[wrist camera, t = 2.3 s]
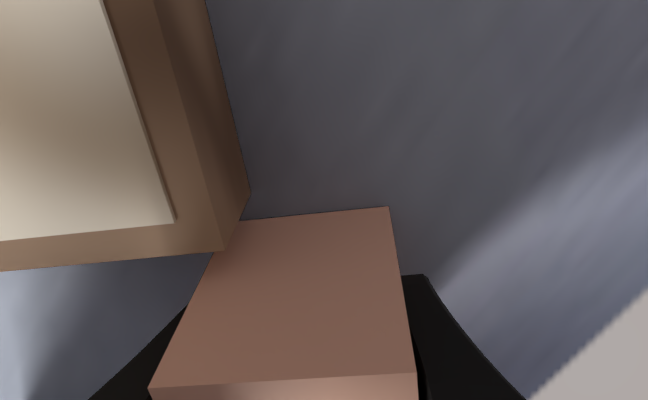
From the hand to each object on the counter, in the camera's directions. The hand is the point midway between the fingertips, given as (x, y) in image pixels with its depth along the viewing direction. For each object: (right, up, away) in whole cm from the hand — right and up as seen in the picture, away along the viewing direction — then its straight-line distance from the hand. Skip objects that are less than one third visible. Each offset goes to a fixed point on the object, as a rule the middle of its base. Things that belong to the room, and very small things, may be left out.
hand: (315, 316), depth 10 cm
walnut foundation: (-5, +5, -1) cm, 8 cm away
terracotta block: (0, +1, +1) cm, 1 cm away
